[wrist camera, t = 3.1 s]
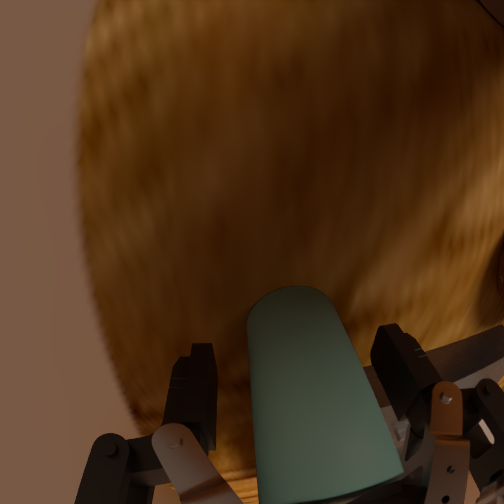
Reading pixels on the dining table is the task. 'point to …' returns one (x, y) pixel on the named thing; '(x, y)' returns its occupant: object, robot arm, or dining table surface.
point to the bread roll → (501, 275)
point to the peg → (313, 405)
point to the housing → (450, 372)
